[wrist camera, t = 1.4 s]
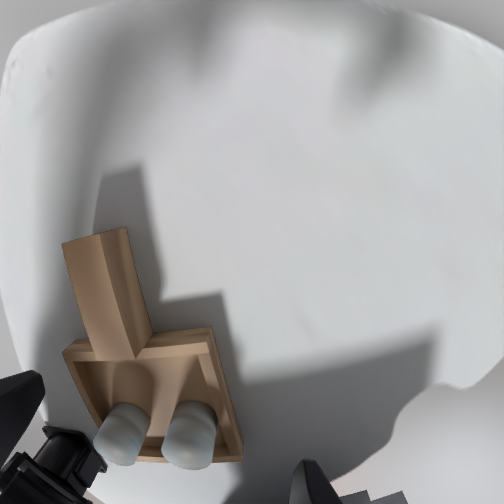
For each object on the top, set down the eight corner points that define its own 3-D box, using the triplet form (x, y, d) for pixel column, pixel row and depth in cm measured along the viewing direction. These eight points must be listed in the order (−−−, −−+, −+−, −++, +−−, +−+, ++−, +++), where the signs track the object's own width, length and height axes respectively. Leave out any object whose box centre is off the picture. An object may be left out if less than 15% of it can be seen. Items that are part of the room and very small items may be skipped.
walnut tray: (125, 442, 23) (107, 480, 18) (48, 246, 20) (4, 260, 14) (243, 441, 23) (241, 487, 18) (186, 213, 19) (162, 219, 14)
